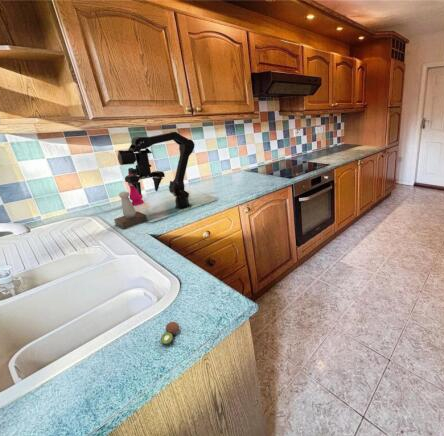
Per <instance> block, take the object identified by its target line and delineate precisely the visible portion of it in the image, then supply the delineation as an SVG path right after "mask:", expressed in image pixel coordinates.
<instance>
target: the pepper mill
mask: <svg viewBox="0 0 444 436" xmlns="http://www.w3.org/2000/svg"><path fill="white" fill-rule="evenodd" d="M126 176H131V175H130V174H129V172H128V173H127V175H126ZM127 186H129V192H130V193H129V199H130V201H131V203H132V205H133V206H139V205H142V204H144V200H143V196H144V195H143V194H142V193H141V195H139V193H138V192H137V190H136V189H135V187H134V186H133V185H132V184H130V183H128V182H127Z"/></svg>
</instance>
